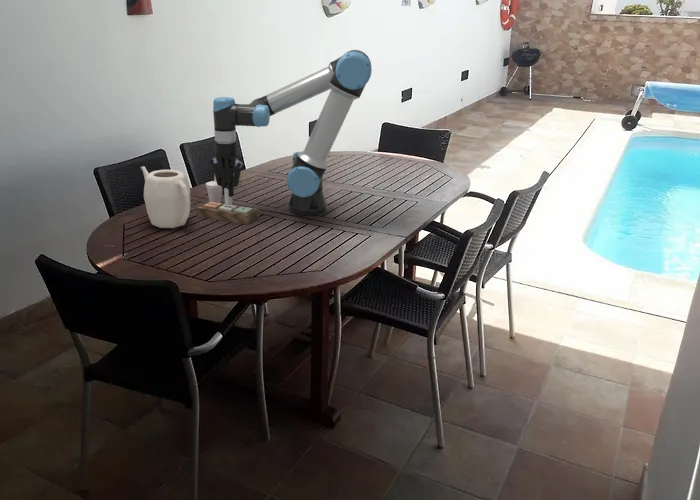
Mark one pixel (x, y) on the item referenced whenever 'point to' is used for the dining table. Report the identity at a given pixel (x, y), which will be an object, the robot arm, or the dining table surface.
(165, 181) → the watering can
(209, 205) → the orange square block
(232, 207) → the white square block
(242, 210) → the pale green block
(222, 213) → the button board
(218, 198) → the smoothie
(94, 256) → the dining table surface
